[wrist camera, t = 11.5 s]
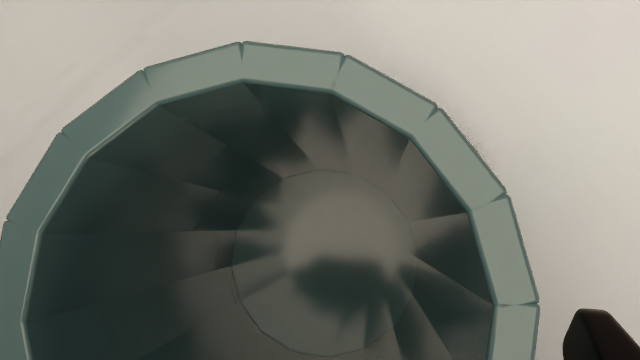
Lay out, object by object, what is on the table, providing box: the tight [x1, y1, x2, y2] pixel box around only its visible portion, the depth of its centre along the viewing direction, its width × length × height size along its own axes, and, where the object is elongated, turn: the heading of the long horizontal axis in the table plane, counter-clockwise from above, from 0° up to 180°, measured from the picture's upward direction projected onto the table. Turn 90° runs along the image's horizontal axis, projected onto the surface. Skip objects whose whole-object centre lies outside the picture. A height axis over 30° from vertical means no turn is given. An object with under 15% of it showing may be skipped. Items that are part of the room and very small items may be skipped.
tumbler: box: [0, 41, 540, 360], centre depth 12 cm, size 6×6×10 cm
